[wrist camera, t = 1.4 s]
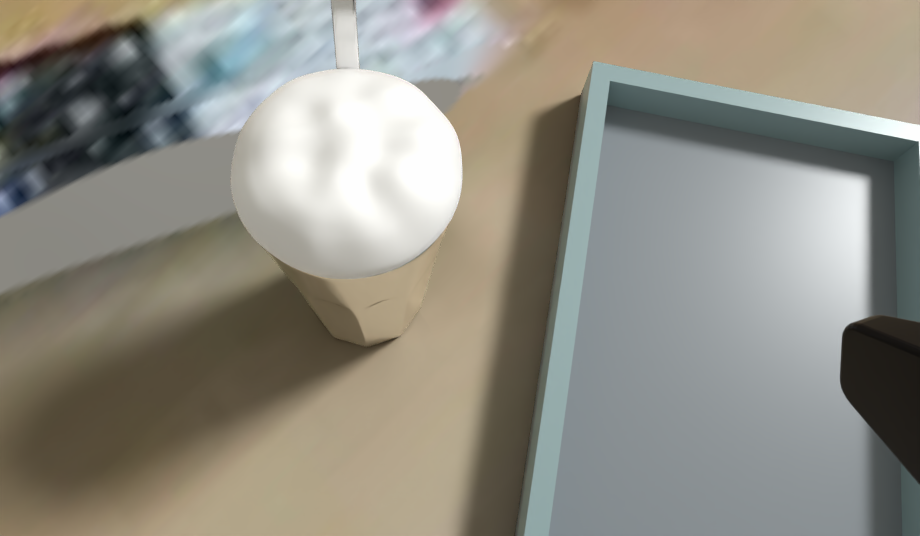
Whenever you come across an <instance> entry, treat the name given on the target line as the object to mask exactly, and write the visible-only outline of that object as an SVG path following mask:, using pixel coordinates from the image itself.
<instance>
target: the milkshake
mask: <svg viewBox="0 0 920 536" xmlns="http://www.w3.org/2000/svg"><path fill="white" fill-rule="evenodd" d="M331 9H332V20H333V32H334V44H335V56H336V67H337V69H333V70H326V71H320V72H316V73H311V74H307V75H304V76H301V77H298V78H296V79H293V80H291V81H289V82H287V83H286V84H284V85H283V86H281V87H280V88H278V89H277V90H276V91H275V92H273V93H272V94H271V95H270V96H269V97H268V98H266V99H265V100H264V101H263V102H262V103H261V104H260V105H259V106H258V107H257V109H256V110H255V111H254V112H253V113H252V114H251V116H250V117H249V118H248V120H247V121H246V123H245V124H244V126H243V128H242V130H241V131H240V134H239V136H238V139H237V143H236V146H235V150H234V155H233V160H232V167H231V191H232V197H233V201H234V204H235V207H236V210H237V212H238V215H239V217H240V219H241V221H242V223H243V225H244V226H245V228H246V229H247V231H248V232H249V233H250V235H251V236H252V237H253V238H254V239H255V240H256V241H257V242H258V243H259V244H260V245H261V247H262V248H263V249H264V250H265V251H266V253H267V254H268V255H269V256H270V257H271V258H272V260H273V261H274V262H275V263H276V264H277V266H278V267H279V268H280V269H281V270H282V271H283V272H284V274H285V275H286V276H287V277H288V278H289V279H290V280H291V281H292V282H293V283H294V284H295V285H296V287H297V288H298V289H299V291H300V292H301V294H302V295H303V296H304V298H305V299H306V301H307V302H308V304H309V305H310V307H311V308H312V309H313V311H314V312H315V313H316V315H317V316H318V317H319V319H320V320H321V321H322V323H323V324H324V325H325V327H326V328H327V329H328V331H329V332H330V333H331V335H332V336H333V337H334V338H338V339H341V340H345V341H348V342H351V343H355V344H358V345H362V346H365V347H369V346H372V345H375V344H378V343H381V342H384V341H387V340H390V339H393V338H396V337H399V336H401V335H402V333H403V332H404V331H405V329H406V328H407V326H408V325H409V324H410V322H411V321H412V319H413V318H414V317H415V315H416V314H417V313H418V311H419V310H420V309H421V306H422V303H423V300H424V297H425V294H426V290H427V287H428V284H429V281H430V277H431V274H432V271H433V268H434V264H435V261H436V258H437V254H438V251H439V248H440V246H441V243H442V241H443V238H444V235H445V233H446V230H447V228H448V225H449V223H450V220H451V218H452V217H453V215H454V212H455V210H456V208H457V205H458V202H459V198H460V194H461V187H462V157H461V149H460V144H459V140H458V137H457V134H456V132H455V130H454V128H453V126H452V125H451V123H450V122H449V121H448V119H447V118H446V117H445V116H444V115H443V113H442V112H441V111H440V110H439V109H438V108H437V107H436V106H435V105H434V104H433V102H432V101H431V100H430V99H429V98H428V97H427V96H426V95H425V94H424V93H423V92H422V91H421V90H419V89H418V88H417V87H415V86H414V85H413V84H411V83H409V82H407V81H405V80H403V79H401V78H398V77H396V76H393V75H389V74H386V73H381V72H376V71H370V70H363V69H360V66H359V50H358V34H357V18H356V1H355V0H331Z"/></svg>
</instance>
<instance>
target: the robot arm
mask: <svg viewBox="0 0 920 536" xmlns="http://www.w3.org/2000/svg"><path fill="white" fill-rule="evenodd" d="M840 385H841V388H842V391H843V393H844V395H845V397H846V399H847V400H848V401H849V403H850V404H851V405H852V406H853V407H854V409H855V410H856V411H857V412H858V413H859V415H860V416H861V417H862V418H863V419H864V420H865V422H866V423H867V424H868V425H869V426H870V427H871V429H872V430H873V431H874V432H875V433H876V434H877V436H878V437H879V438H880V439H881V440H882V442H883V443H884V444H885V445H886V446H887V447H888V449H889V450H890V451H891V452H892V453H893V454H894V456H895V457H896V458H897V459H898V460H899V462H900V463H901V464H902V465H903V466H904V467H905V469H906V470H907V471H908V472H909V473H910V474H911V476H912V477H913V478H914V479H915V480H916V481H917V483H918V484H919V485H920V322H917V321H911V320H906V319H901V318H896V317H891V316H886V315H873V316H870V317H867V318H864V319H861V320H858V321H855V322H852V323H850V324H849V325H847V326H846V327H845V329H844V331H843V333H842V343H841V362H840Z"/></svg>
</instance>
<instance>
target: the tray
mask: <svg viewBox="0 0 920 536" xmlns="http://www.w3.org/2000/svg"><path fill="white" fill-rule="evenodd" d="M873 315H886V316H891V317H896V318H901V319H906V320H911V321H917V322H920V125H915V124H910V123H905V122H900V121H895V120H890V119H885V118H880V117H875V116H870V115H864V114H859V113H854V112H849V111H844V110H839V109H834V108H829V107H824V106H819V105H814V104H808V103H803V102H798V101H793V100H788V99H783V98H778V97H773V96H768V95H763V94H758V93H752V92H747V91H742V90H737V89H732V88H727V87H722V86H717V85H712V84H707V83H702V82H696V81H691V80H686V79H681V78H676V77H671V76H666V75H661V74H656V73H651V72H646V71H640V70H635V69H630V68H625V67H620V66H615V65H610V64H605V63H600V62H595V61H593V64H592V67H591V69H590V72H589V74H588V77H587V80H586V82H585V85H584V87H583V90H582V93H581V98H580V105H579V111H578V118H577V125H576V131H575V138H574V145H573V151H572V158H571V165H570V171H569V178H568V184H567V191H566V198H565V204H564V211H563V218H562V224H561V231H560V238H559V244H558V251H557V258H556V264H555V271H554V277H553V284H552V291H551V297H550V304H549V311H548V317H547V324H546V331H545V337H544V344H543V351H542V357H541V364H540V370H539V377H538V384H537V390H536V397H535V404H534V410H533V417H532V424H531V430H530V437H529V444H528V450H527V457H526V463H525V470H524V477H523V483H522V490H521V497H520V503H519V510H518V517H517V523H516V530H515V536H920V485H919V484H918V483H917V481H916V480H915V479H914V478H913V477H912V476H911V474H910V473H909V472H908V471H907V470H906V469H905V467H904V466H903V465H902V464H901V463H900V462H899V460H898V459H897V458H896V457H895V456H894V454H893V453H892V452H891V451H890V450H889V449H888V447H887V446H886V445H885V444H884V443H883V442H882V440H881V439H880V438H879V437H878V436H877V434H876V433H875V432H874V431H873V430H872V429H871V427H870V426H869V425H868V424H867V423H866V422H865V420H864V419H863V418H862V417H861V416H860V415H859V413H858V412H857V411H856V410H855V409H854V407H853V406H852V405H851V404H850V403H849V401H848V400H847V399H846V397H845V395H844V393H843V391H842V388H841V385H840V362H841V343H842V333H843V331H844V329H845V327H846V326H847V325H849V324H850V323H852V322H855V321H858V320H861V319H864V318H867V317H870V316H873Z"/></svg>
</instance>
